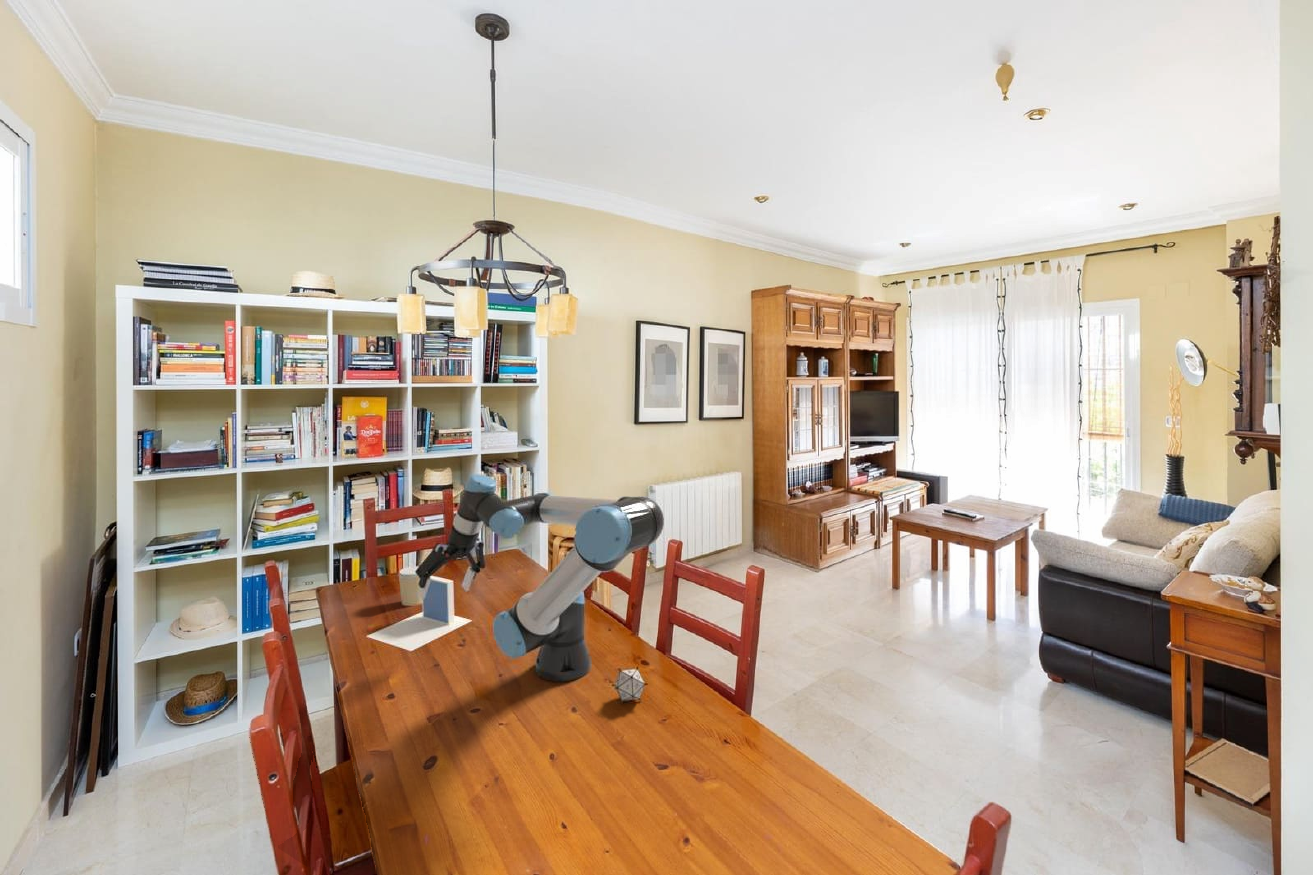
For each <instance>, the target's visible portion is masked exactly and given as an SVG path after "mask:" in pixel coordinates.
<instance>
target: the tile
mask: <svg viewBox="0 0 1313 875" xmlns="http://www.w3.org/2000/svg"><path fill="white" fill-rule="evenodd" d="M430 578H431V581H430V584H429V587H428V590H427V593H426V596H425V599H422V604H421V605H422V612H423V618H426V619H430V620H433V621H437V622H440V623H444V624H447V625H450V624H452V623H454V616H455V602H454V601H455V597H454V596H455V594H454V590H455V589H454V580H453V579H452V580H451V579H448V578H443V577H439V576H436V575H435V576H434V575H432V576H430Z"/></svg>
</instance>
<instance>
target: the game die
mask: <svg viewBox="0 0 1313 875" xmlns="http://www.w3.org/2000/svg"><path fill="white" fill-rule="evenodd" d="M636 666H637V667H636V668H630V669H629V668H628V669H621V668H620V667H618V668H617V670H618V671H619V672H618V675H617V677H616V680H615V681H614V683H612V684H611V686H612V687H614V689H615V690H616V692H617V694H618V696H619V698H620V700H621V701H620V703H622V704H623V702H627V701H633V700H634V701H635V700H638V701H639V700H641V701H642V699H641V696H642V694H643V691H644V688H645V686H648V685H649V683H648V682H645V680H644V678H643V676H642V674H641V672H640V671H639V667H640V665H636ZM620 703H619V704H620Z"/></svg>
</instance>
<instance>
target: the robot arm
mask: <svg viewBox="0 0 1313 875" xmlns="http://www.w3.org/2000/svg"><path fill="white" fill-rule="evenodd" d="M496 489H497V482H496V480H495V479H493V478H492V477H490V476H487V475H485V474H480V473H479V474H473V475H470V476H469V478H468V480H467V482H466V484H465V487H464V488H463V493H462V496H461V498H460V501H459V504H458V508H457V511H456V512H455V515H454V519H453V522H452V525H451V527H450V530H449V533H448V540H447V542H446V543H445V544H441V543H440V542H437V543H435V544H434V547H433V550H431V551H430V553H429V554H428V556H427V557H426V558H425V559H424V560H423V561H422V562H421V564H420V565H418V566H419V567H418V569H417V570H416V571H415V573H416V574H417V575H418V577H419V578H420V580H419V583H418V585H419V586H420V587H419V590H418V593H417V594H418V595H419V596H420V598H421V599H425V596H426V593H427V590H428V587H429V584H430V581H431V578H430V576H434V574H435V573H437V572H438V570H440V568H442V567H443V566H444V565H445V564H447V563H450V562H451V561H452V560H457V559H463V558H464V557H465V558H466V560H467V562H469V565H470V566H468V567H467V570H466V572H465V576H464V578H463V581H462V583H461V587H462V588H463V589H464V590H465V592H469V591H470V588H471V585H472V582H473V580H475V578H476V576H477V574H479V573H481V569H482V570H483V569H485V568H486V563H485V562H486V561H485V557H484V544H485V543H484V542H483V541H482V540H481V539H480V538H479V535H480V532H481V530H482V527H483V524H484V525H485V526H487V527H488V529H489V530H491V531H492V532H493V533H495V534H496V535H497V536H498V537H500V538H502V539H505V540H507V539H512V538H513V537H515V535H518V534H519V533H520V532H521V531H522V529H523V526H524V527H525V526H527V525H531V524H535V523H542V524H554V525H563V526H571V527H575V529H574V531H575V534H574V538H573V547H572V548H571V549H570V550H569V552H567V554H566V555H565V556H564V557H563V558H562V559H561V560H560V562H559V563H558V564H557V565H556V567H555V568H554V569H553V570H552V571H551V572H550V573H549V574H548V575H547V576H546V577H545V579H544V580H543V581H542V582H541V583H540V585H538V587H537V588H536V589H534V591H531V592H527V593H525V594H523V595H522V596H521V597H520V598H519V599H518V600H517V601H516V603H514V605H513V606H512V607H510V608H509V609H507V610H502V611H501V612H500V613H498V614H497V615H496V616H495V617H494V619H493V621H492V622H493V623H492V631H493V636H494V640H495V643H496V644H497V646H498V648H499V649H500V651H501V652H502V653H503V654H504V655H505V656H507V657H508V658H510V659H517V658H520V657H524V656H526V654H528V653H530V652H532V651H535V650H536V649H539V650H538V653H537V657H536V659H535V672H536V674H537V676H538V677H540V678H542V679H544V680H546V681H550V682H558V683H559V682H570V681H575V680H576V679H580V678H581V677H584V676H585V675H586V674H588V673H589V672H590V670H591V668H592V660H591V659H592V658H591V657H592V656H591V654H590V653H589V648H588V646H587V642H586V640H585V639H586V638H585V629H586V628H585V622H586V621H585V615H586V614H585V606H586V601H585V594H584V593H585V592H584V591H585V590H586V589H587V588H588V587H589V586H590V585H591V583H593V581H594V580H595V579H597V577H598V576H599V575H600V574H601V573H608V572H611V571H613V570H614V569H615V568H617V566H619V564H620V563H621V562H622V561H623V560H624V559H625V558H626V557H627V556H628V555H630V554H632V553H633V552H636V551H638V550H641V549H642V548H645V547H648V546H650V545H652V544H653V543H655V542H656V541H657V540H658V539H659V537H660V536H661V534H662V533H663V532H662V531H663V530H664V525H665V524H664V523H665V522H664V521H665V518H664V513H663V511H662V508H661V507H660V506H659V505H658V503H657V502H656V501H654V500H653V499H651V498H648V497H645V496H620V497H619V498H618V499H606V498H593V497H592V498H591V497H576V496H575V497H574V496H561V495H554V494H553V493H551V492H540V493H539V492H538V493H536V494H532V495H528V496H523V497H518V498H514V499H509V500H508V499H507V500H503V498H501V497H500V496H499V495H498V494H497V493H495V492H496ZM473 549H474V552H475V557H476V561H475V559H474V558H473V555H472V554H471V551H472V550H473ZM447 555H448V556H447Z"/></svg>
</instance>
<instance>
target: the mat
mask: <svg viewBox="0 0 1313 875" xmlns="http://www.w3.org/2000/svg"><path fill="white" fill-rule="evenodd" d="M471 622H473V620H472V619H468V618H465V617H462V616H457V615H454V623H452V624H450V625H447V624H444V623H440V622H437V621H433V620H430V619H426V618H423V611H422V612H419V613H417V614H413V615H411V616H410V617H407V618H405V619H403V620H401V621H398V622H396V623H393V624H392V625H388V626H387V627H384V628H382V629H379V630H377V631H375V632H373V633H371V634H368V635H366V636H365V637H366V638H368V639H369V638H370V639H372V640H376V641H379V642H382V643H385V644H387V645H391V646H393V647H396V648H400V649H404V650H406V651H409V652H412V651H414V650H417V649H418V648H421V647H422V646H424V645H427V644H428V643H430V642H432V641H435V640H437V639H439V638H441V637H442V636H445V635H447V634H448V633H451V632H453V631H454V630H457V629H458V628H461V627H462V626H464V625H466V624H468V623H471Z"/></svg>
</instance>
